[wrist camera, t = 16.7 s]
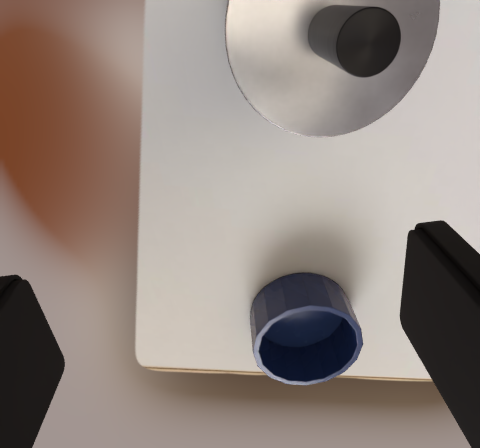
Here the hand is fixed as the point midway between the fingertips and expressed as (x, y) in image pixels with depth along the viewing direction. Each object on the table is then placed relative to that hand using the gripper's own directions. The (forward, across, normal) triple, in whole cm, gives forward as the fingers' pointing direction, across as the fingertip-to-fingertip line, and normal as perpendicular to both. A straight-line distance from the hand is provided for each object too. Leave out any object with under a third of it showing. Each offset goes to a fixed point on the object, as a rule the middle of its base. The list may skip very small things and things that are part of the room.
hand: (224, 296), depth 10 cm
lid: (+18, -7, -4) cm, 19 cm away
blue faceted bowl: (+27, -6, +25) cm, 38 cm away
